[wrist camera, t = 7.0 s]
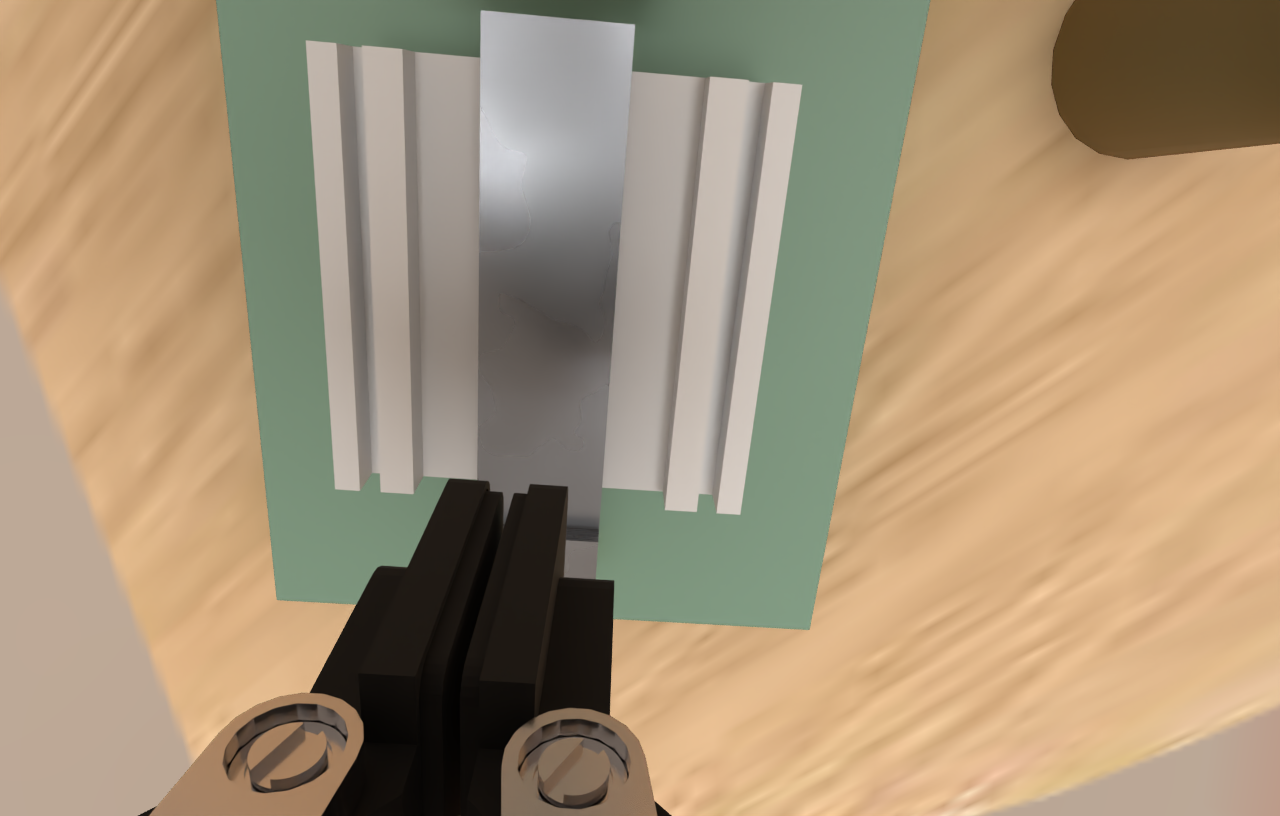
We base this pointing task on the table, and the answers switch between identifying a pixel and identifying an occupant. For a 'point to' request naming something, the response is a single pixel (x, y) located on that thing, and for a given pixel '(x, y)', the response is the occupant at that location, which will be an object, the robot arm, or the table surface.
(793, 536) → the board
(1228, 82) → the cork
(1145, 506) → the table surface
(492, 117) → the strap
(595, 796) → the robot arm
